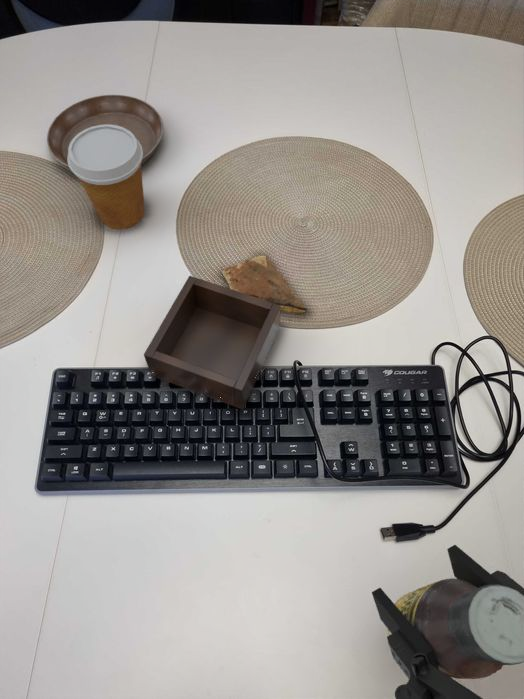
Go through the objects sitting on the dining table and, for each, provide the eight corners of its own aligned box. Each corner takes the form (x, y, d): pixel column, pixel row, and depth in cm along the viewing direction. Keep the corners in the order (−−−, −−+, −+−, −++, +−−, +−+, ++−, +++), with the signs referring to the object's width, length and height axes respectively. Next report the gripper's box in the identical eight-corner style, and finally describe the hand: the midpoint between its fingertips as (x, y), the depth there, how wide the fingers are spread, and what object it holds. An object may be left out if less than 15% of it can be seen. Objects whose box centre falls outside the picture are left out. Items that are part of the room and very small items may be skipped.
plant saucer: (43, 187, 81) (36, 171, 78) (61, 111, 90) (55, 94, 87) (162, 185, 81) (159, 169, 79) (168, 109, 90) (166, 93, 88)
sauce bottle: (426, 580, 49) (518, 536, 32) (470, 648, 47) (596, 641, 30) (366, 617, 48) (430, 592, 31) (408, 691, 45) (503, 709, 28)
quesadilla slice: (306, 316, 70) (307, 308, 68) (255, 341, 68) (255, 334, 67) (265, 259, 75) (265, 250, 73) (215, 280, 73) (215, 272, 71)
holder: (279, 330, 69) (281, 305, 64) (243, 411, 63) (242, 390, 58) (193, 301, 71) (189, 275, 66) (151, 377, 65) (143, 354, 61)
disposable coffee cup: (169, 215, 78) (156, 147, 68) (116, 250, 75) (93, 185, 65) (129, 181, 82) (110, 112, 71) (76, 214, 78) (49, 145, 68)
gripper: (597, 1183, 19) (323, 681, 41) (932, 861, 23) (524, 560, 45) (568, 1079, 17) (293, 605, 38) (944, 744, 21) (508, 486, 43)
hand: (418, 581), depth 42 cm, fingers closed on sauce bottle, 6 cm apart
